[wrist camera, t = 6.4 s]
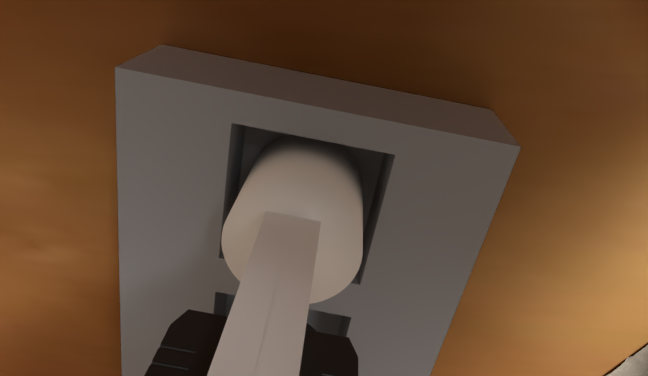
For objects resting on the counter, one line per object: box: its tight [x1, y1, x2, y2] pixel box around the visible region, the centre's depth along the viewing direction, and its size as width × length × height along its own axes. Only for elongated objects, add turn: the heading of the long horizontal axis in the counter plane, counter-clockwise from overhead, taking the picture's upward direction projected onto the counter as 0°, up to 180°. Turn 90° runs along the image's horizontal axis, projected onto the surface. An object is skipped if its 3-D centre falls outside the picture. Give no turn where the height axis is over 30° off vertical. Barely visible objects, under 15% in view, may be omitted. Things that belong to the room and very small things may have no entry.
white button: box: [221, 134, 363, 304], centre depth 15 cm, size 4×4×4 cm
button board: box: [115, 44, 521, 376], centre depth 20 cm, size 20×12×4 cm, turn 170°
